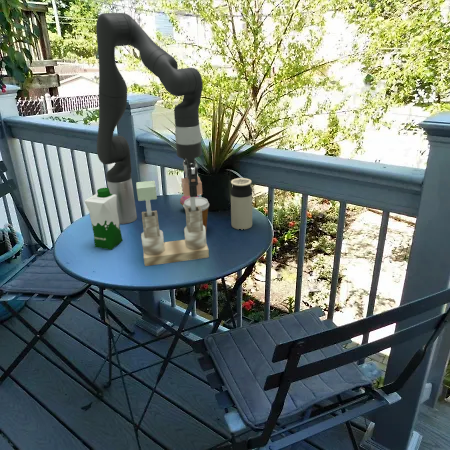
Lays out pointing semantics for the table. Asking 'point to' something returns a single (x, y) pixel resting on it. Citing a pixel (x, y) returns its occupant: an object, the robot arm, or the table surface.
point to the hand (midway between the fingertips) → (192, 192)
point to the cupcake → (184, 199)
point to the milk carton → (104, 219)
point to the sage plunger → (146, 193)
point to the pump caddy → (174, 250)
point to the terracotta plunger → (187, 192)
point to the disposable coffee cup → (203, 205)
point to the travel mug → (241, 203)
